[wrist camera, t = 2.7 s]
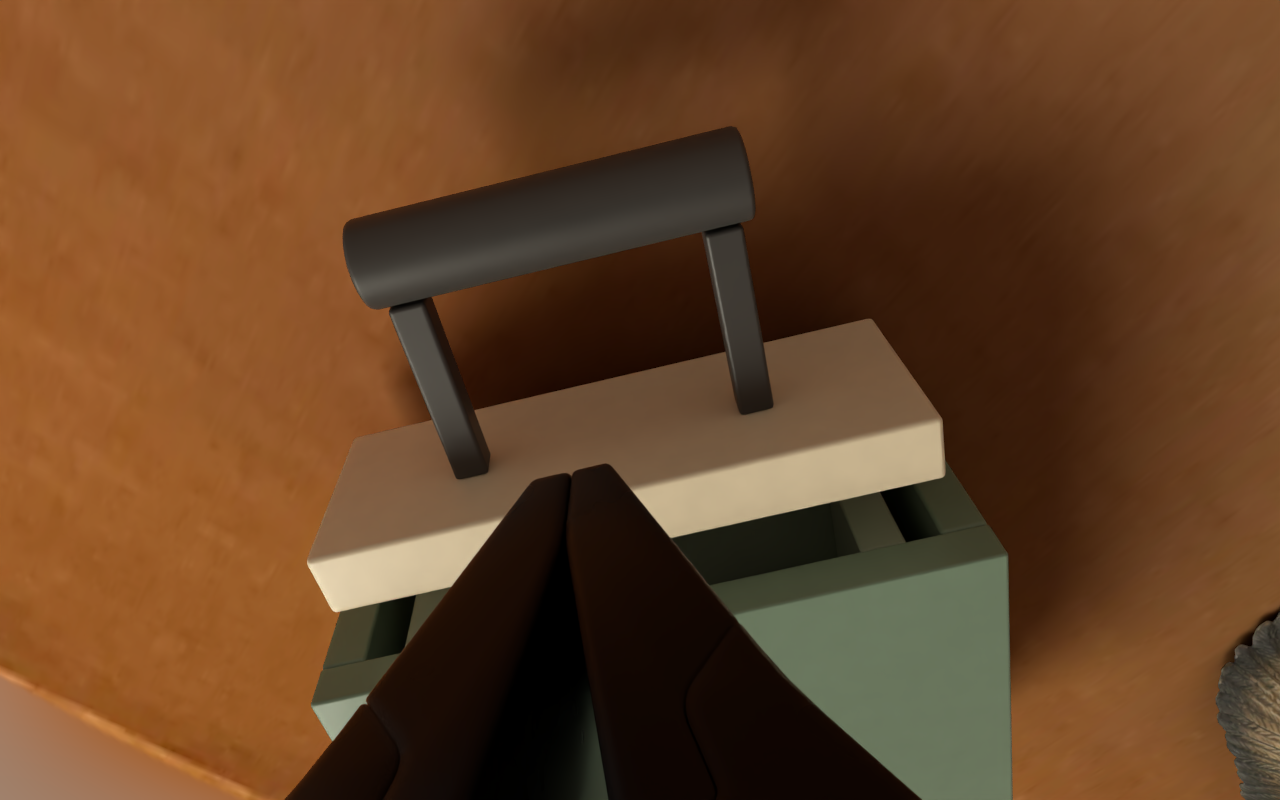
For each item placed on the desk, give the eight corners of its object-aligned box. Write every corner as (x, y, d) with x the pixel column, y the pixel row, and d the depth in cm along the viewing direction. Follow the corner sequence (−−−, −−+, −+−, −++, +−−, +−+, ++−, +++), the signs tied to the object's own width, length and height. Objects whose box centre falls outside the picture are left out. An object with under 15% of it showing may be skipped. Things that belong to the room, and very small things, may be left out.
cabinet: (373, 502, 19) (308, 706, 15) (896, 383, 19) (1009, 553, 14) (524, 821, 25) (513, 1043, 20) (928, 738, 25) (1016, 945, 20)
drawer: (248, 211, 15) (159, 300, 12) (847, 64, 15) (926, 113, 11) (508, 771, 23) (498, 919, 20) (909, 687, 22) (968, 824, 19)
